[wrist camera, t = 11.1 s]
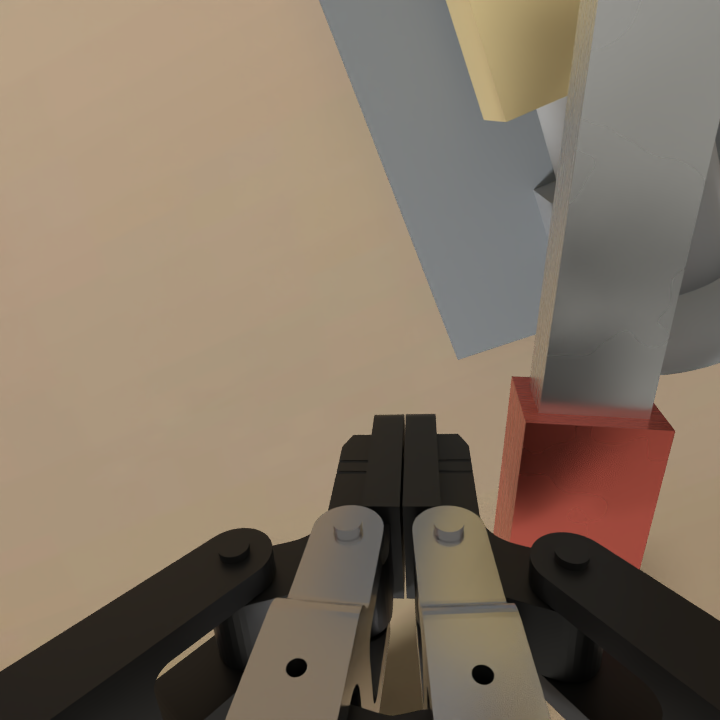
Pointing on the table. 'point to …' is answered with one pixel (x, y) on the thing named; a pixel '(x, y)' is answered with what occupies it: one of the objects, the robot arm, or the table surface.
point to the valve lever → (613, 275)
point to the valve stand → (493, 159)
